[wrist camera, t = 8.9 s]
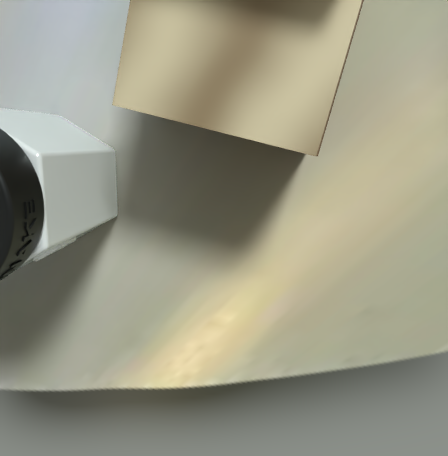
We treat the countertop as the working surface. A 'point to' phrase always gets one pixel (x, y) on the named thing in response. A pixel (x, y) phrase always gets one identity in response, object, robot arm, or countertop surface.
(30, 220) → the jar
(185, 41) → the lid
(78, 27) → the countertop surface
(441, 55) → the countertop surface
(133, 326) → the countertop surface
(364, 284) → the countertop surface
